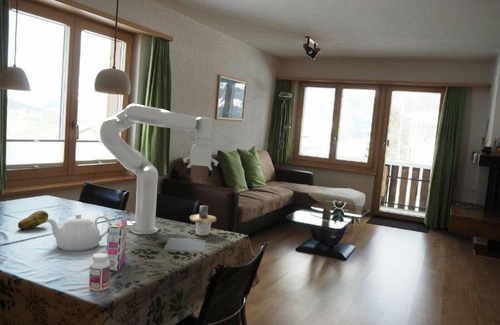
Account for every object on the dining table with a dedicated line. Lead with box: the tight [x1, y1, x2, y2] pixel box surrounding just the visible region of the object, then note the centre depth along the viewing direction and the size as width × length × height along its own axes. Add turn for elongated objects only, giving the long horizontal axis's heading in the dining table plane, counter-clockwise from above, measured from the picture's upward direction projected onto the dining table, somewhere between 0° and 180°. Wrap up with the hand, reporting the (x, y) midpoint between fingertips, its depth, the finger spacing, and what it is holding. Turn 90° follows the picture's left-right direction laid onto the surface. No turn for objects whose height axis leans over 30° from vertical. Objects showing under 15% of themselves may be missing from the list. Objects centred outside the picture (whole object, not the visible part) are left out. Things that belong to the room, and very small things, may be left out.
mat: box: [163, 237, 207, 253], centre depth 188 cm, size 17×17×1 cm
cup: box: [195, 222, 212, 236], centre depth 205 cm, size 11×8×8 cm
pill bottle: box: [88, 252, 111, 292], centre depth 136 cm, size 6×6×11 cm
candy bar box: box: [106, 219, 128, 272], centre depth 156 cm, size 11×5×16 cm, turn 5°
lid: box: [189, 205, 217, 224], centre depth 205 cm, size 13×13×7 cm
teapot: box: [45, 213, 112, 252], centre depth 176 cm, size 19×18×14 cm
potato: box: [17, 210, 49, 230], centre depth 194 cm, size 8×13×8 cm, turn 124°
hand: (199, 176), depth 206 cm, fingers open, 9 cm apart
